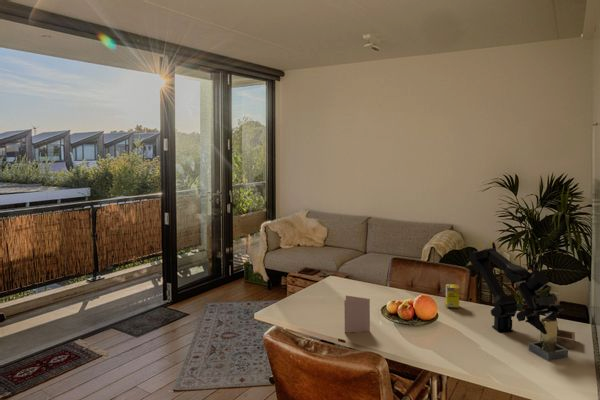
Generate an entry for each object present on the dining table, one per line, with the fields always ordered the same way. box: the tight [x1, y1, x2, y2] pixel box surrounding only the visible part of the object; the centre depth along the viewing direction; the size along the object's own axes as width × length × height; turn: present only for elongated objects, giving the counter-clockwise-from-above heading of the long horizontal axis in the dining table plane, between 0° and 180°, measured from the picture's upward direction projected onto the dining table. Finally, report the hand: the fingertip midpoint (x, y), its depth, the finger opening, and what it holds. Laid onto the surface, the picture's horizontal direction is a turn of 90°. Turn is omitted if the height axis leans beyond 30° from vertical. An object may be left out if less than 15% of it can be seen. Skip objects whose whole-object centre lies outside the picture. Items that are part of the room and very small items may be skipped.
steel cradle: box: [527, 340, 569, 362], centre depth 170 cm, size 10×10×3 cm
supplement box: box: [444, 283, 460, 309], centre depth 222 cm, size 6×6×11 cm
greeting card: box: [343, 295, 371, 333], centre depth 194 cm, size 11×7×15 cm, turn 62°
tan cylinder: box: [539, 317, 559, 351], centre depth 170 cm, size 6×6×11 cm
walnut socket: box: [556, 328, 576, 349], centre depth 180 cm, size 9×9×4 cm
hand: (551, 332), depth 168 cm, fingers closed on tan cylinder, 5 cm apart
